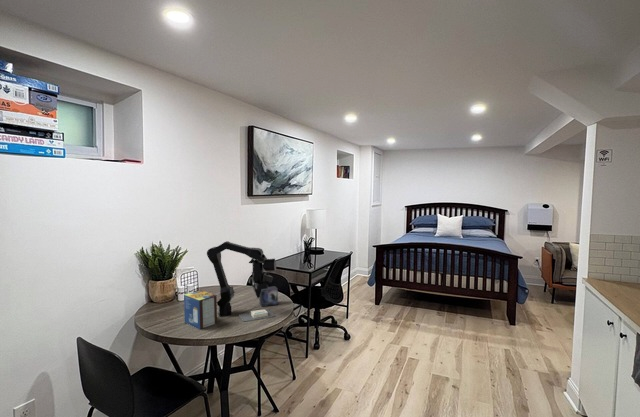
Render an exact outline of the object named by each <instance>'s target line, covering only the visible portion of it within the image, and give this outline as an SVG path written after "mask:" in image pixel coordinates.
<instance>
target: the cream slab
mask: <svg viewBox="0 0 640 417" xmlns="http://www.w3.org/2000/svg"><path fill="white" fill-rule="evenodd" d="M266 310H267V309H264V308H263V309H258V310H251V311H250V312H251V316H252V317H253V318H258V317H264V316H268V312H267V311H266Z"/></svg>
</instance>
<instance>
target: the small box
mask: <svg viewBox="0 0 640 417" xmlns="http://www.w3.org/2000/svg"><path fill="white" fill-rule="evenodd" d="M278 290H279V288H278V287H277V286H275V285H272V286H268V288H267V289H262V290H261V293H260V297H259V298H258V299H259V303H258V304H259V306H260V307H261V308H262V307H263V308H264V307H269V306H270V307H272V306H278V305H279V303H278V301H279V300H278V299H279V293H278V292H279V291H278Z"/></svg>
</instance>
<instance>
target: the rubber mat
mask: <svg viewBox="0 0 640 417" xmlns="http://www.w3.org/2000/svg"><path fill="white" fill-rule="evenodd" d="M265 310H266V311H267V312H268V316H264V317H258V318H253V317H252V316H251V311H250V312H244V313H240V314H238V316H239V318H240V319H241V320H242V321H243V323H247V322H252V321H258V320H264V319H269V318H276V315H275V314H274V313H273V311H272V310H270V309H265Z"/></svg>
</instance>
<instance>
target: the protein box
mask: <svg viewBox="0 0 640 417" xmlns="http://www.w3.org/2000/svg"><path fill="white" fill-rule="evenodd" d="M217 300H218V299H217V294H215V293H210V292H209V291H208V292H207V291H204V290H197V291H194V292H188V293H184V294H183V301H184V303H183V306H184V310H183V311H184V323H185V324H187V323H188V324H187V325H189V324H190V325H189V326H191V325H192V326H191V327H193V326H194V327H193V328H195V327H196V328H195V329H197V328H198V330H203V329H206V328H208V327H211V326H214V325H217V324H218V305H217V302H218V301H217Z"/></svg>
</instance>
